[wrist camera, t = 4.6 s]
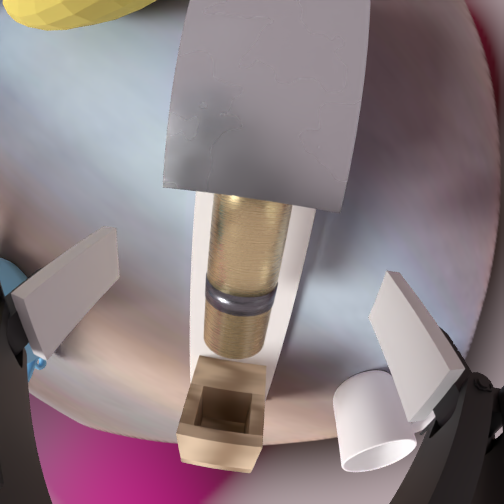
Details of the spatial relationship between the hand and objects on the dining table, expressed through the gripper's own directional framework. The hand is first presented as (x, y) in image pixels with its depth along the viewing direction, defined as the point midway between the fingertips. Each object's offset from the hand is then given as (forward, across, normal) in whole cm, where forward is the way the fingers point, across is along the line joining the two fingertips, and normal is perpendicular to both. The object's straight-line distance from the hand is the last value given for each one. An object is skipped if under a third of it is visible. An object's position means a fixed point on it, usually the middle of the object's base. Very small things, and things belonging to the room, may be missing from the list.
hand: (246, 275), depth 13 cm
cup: (+10, +18, -18) cm, 27 cm away
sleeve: (+10, 0, +10) cm, 14 cm away
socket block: (+10, 0, -18) cm, 21 cm away
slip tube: (+5, 0, +4) cm, 6 cm away
